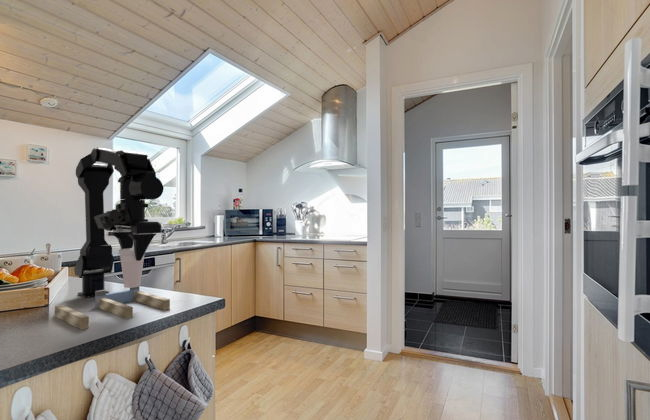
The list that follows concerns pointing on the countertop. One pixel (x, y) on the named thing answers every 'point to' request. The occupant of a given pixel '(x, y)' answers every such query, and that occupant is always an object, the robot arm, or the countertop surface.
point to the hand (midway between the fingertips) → (132, 259)
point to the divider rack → (110, 309)
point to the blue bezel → (116, 295)
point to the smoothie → (131, 267)
